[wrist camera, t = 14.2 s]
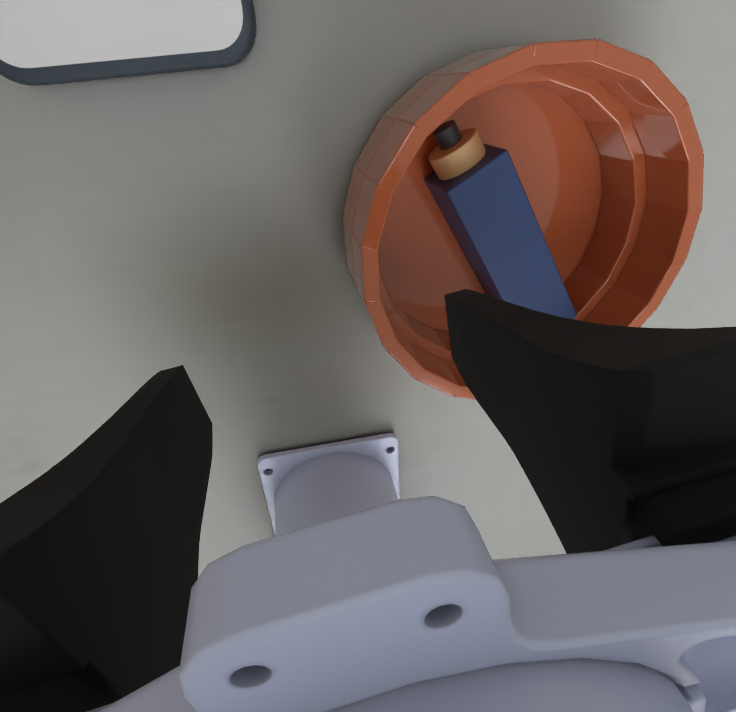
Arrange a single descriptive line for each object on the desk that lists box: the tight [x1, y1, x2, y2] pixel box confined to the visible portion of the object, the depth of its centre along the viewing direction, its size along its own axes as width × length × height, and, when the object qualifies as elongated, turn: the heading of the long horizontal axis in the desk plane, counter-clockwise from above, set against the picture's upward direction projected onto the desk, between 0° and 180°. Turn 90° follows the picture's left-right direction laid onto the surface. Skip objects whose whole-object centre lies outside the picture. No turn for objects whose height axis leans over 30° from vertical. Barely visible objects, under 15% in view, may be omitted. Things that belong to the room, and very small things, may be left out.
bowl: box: [343, 39, 704, 399], centre depth 19 cm, size 13×13×5 cm
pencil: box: [424, 120, 577, 319], centre depth 20 cm, size 10×3×3 cm, turn 33°
